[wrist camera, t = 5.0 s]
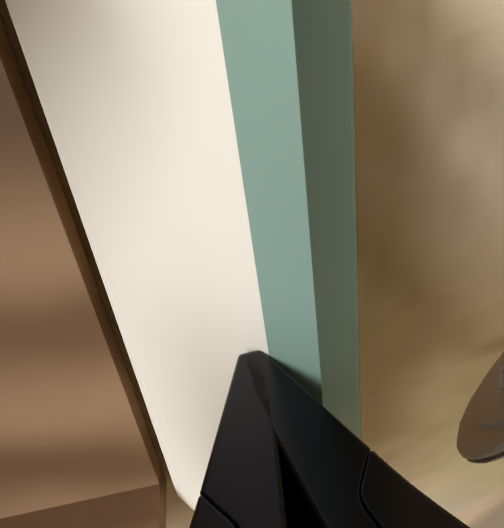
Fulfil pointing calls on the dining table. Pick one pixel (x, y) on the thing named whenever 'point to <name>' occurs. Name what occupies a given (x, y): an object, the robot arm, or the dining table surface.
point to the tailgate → (210, 192)
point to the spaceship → (484, 419)
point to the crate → (60, 355)
